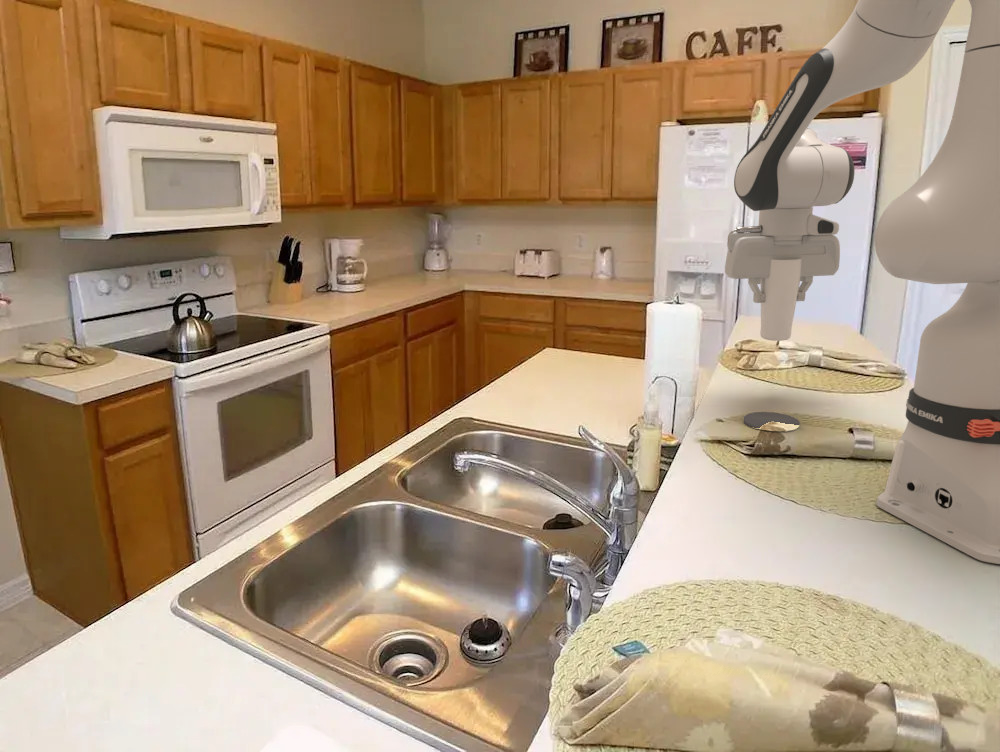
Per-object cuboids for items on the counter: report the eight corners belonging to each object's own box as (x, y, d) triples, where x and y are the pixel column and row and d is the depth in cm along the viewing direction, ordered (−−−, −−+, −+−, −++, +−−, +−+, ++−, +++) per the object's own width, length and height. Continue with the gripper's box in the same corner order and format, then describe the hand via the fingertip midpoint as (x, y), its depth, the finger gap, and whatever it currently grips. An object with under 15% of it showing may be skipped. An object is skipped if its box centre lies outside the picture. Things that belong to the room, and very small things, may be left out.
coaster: (810, 430, 114) (810, 427, 114) (757, 433, 113) (757, 430, 113) (783, 413, 122) (783, 410, 122) (734, 416, 122) (734, 413, 121)
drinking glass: (797, 343, 125) (805, 259, 121) (758, 342, 126) (765, 260, 122) (791, 334, 131) (798, 255, 127) (753, 334, 132) (759, 255, 128)
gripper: (736, 227, 119) (731, 306, 123) (848, 223, 121) (840, 301, 124) (721, 226, 125) (717, 301, 129) (828, 222, 127) (821, 297, 130)
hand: (778, 301), depth 127 cm, fingers closed on drinking glass, 6 cm apart
